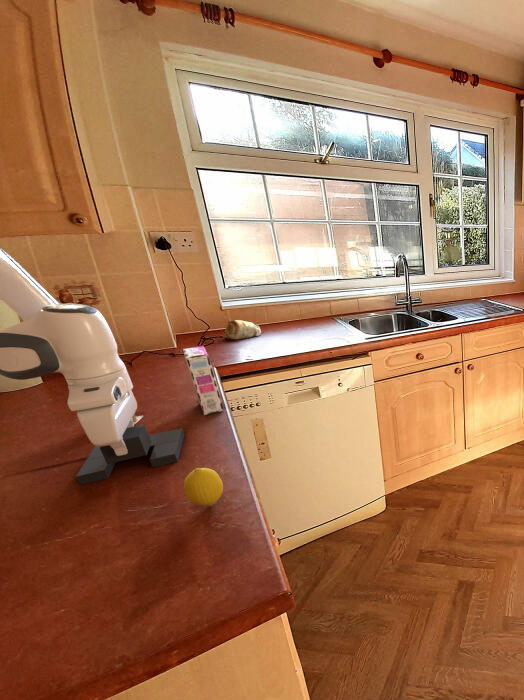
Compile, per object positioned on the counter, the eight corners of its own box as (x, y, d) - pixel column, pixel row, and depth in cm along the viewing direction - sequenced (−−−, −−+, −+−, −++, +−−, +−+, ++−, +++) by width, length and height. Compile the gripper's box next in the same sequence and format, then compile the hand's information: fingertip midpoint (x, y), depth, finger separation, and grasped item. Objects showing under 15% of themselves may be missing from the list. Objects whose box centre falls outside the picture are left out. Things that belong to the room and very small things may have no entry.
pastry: (218, 340, 183) (213, 322, 180) (237, 332, 194) (232, 315, 191) (250, 340, 182) (245, 322, 179) (267, 332, 194) (262, 315, 191)
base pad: (79, 485, 84) (75, 476, 84) (98, 453, 96) (95, 446, 95) (177, 461, 92) (174, 453, 91) (184, 435, 103) (182, 428, 102)
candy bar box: (226, 410, 116) (208, 354, 110) (204, 416, 113) (185, 358, 107) (220, 398, 124) (203, 344, 117) (199, 403, 121) (181, 348, 115)
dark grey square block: (106, 464, 86) (98, 445, 84) (114, 450, 91) (106, 432, 89) (146, 455, 89) (139, 436, 87) (151, 442, 94) (144, 424, 92)
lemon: (186, 508, 77) (172, 471, 74) (219, 492, 81) (207, 457, 78) (200, 519, 74) (186, 481, 71) (233, 502, 78) (221, 465, 75)
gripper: (95, 373, 91) (119, 429, 96) (63, 407, 75) (94, 473, 80) (132, 367, 94) (153, 422, 99) (110, 398, 78) (137, 463, 83)
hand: (127, 445), depth 89 cm, fingers closed on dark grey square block, 6 cm apart
